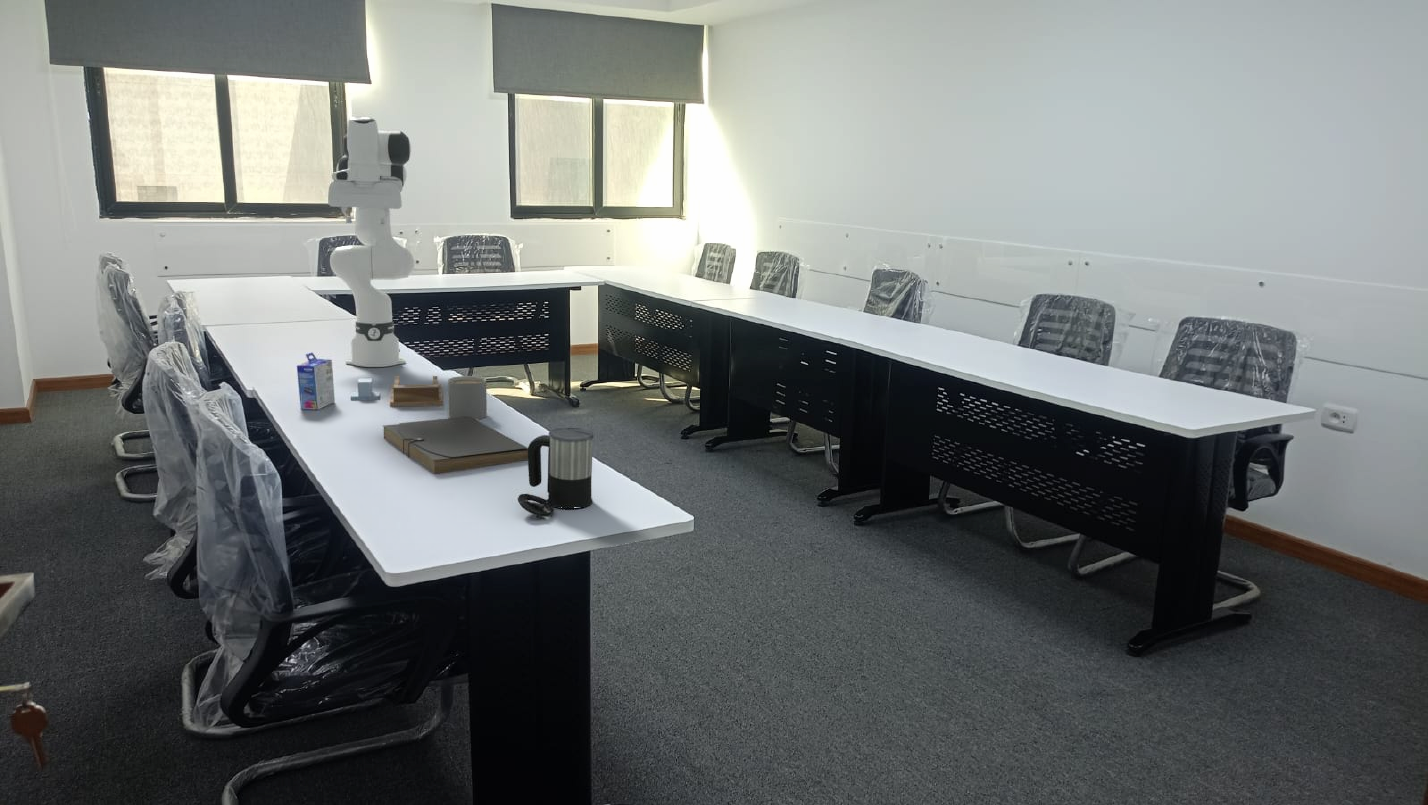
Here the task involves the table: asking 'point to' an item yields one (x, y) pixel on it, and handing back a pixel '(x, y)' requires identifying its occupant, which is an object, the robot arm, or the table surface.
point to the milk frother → (561, 470)
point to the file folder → (454, 444)
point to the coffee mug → (467, 397)
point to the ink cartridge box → (315, 383)
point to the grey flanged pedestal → (365, 391)
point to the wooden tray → (416, 394)
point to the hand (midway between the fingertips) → (366, 223)
